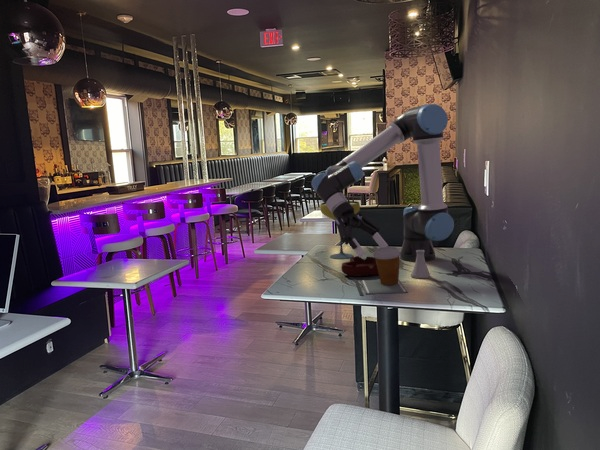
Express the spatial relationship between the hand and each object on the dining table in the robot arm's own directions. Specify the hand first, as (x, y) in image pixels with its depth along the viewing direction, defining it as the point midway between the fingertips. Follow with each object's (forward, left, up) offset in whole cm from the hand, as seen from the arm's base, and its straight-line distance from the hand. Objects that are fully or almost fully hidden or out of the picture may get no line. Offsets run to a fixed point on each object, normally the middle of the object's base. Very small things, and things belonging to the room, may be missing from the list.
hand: (374, 251), depth 163 cm
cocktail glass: (+9, -49, -12) cm, 51 cm away
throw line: (+6, +3, -12) cm, 14 cm away
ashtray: (+1, -18, -13) cm, 22 cm away
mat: (-2, +3, -12) cm, 13 cm away
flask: (-18, -9, -12) cm, 24 cm away
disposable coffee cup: (-5, 0, -12) cm, 13 cm away
